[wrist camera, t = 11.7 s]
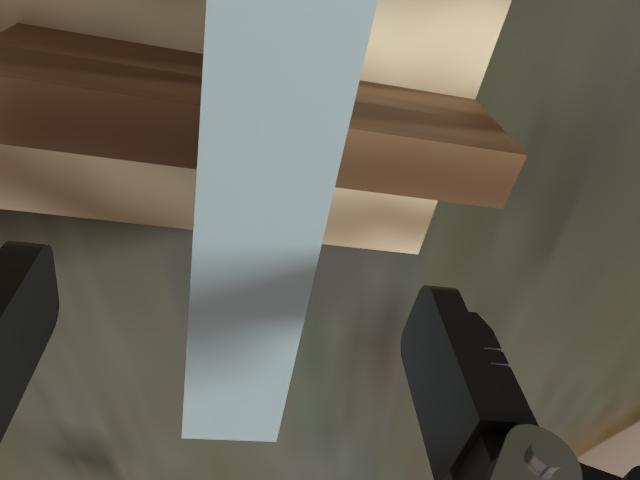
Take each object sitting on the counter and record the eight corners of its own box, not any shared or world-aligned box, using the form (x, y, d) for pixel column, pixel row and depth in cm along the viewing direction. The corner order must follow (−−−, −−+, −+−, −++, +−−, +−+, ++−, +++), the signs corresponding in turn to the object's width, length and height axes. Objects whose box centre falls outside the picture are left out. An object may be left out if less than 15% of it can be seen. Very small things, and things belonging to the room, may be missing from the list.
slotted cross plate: (243, -99, 19) (210, -74, 8) (322, -82, 19) (386, -37, 9) (216, 216, 27) (181, 438, 16) (273, 223, 27) (276, 441, 17)
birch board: (-424, -288, 16) (-462, -297, 15) (525, -67, 21) (535, -65, 20) (-217, 173, 24) (-234, 183, 24) (414, 244, 30) (418, 254, 29)
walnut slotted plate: (17, 22, 21) (-61, 67, 16) (475, 99, 24) (527, 155, 19) (25, 81, 22) (-45, 138, 17) (457, 145, 25) (502, 208, 21)
